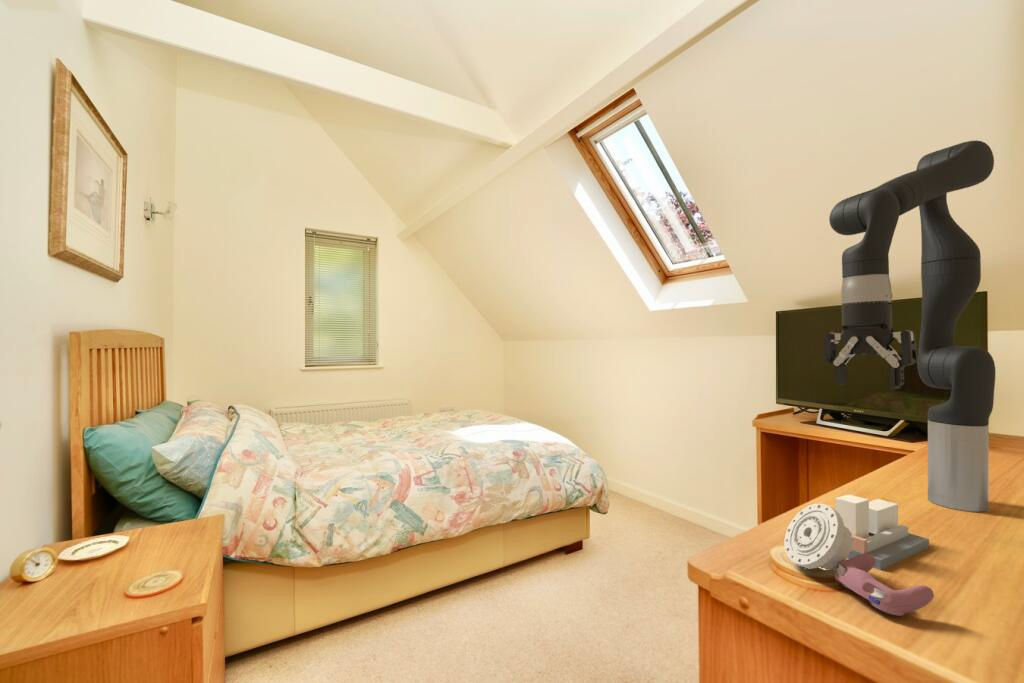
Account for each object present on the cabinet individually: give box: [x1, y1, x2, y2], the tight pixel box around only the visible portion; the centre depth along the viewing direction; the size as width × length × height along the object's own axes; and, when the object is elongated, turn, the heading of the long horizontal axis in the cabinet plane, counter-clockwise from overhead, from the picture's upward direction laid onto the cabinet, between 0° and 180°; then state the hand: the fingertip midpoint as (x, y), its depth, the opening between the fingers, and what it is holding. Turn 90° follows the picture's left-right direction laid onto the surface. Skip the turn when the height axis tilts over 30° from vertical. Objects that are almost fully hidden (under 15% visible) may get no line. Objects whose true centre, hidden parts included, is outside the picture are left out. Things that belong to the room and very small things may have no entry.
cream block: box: [869, 498, 899, 536], centre depth 80 cm, size 5×3×7 cm
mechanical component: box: [783, 503, 854, 571], centre depth 70 cm, size 10×4×10 cm
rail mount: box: [834, 494, 930, 571], centre depth 78 cm, size 16×11×8 cm
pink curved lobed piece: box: [834, 554, 935, 617], centre depth 62 cm, size 10×5×7 cm
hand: (868, 386), depth 88 cm, fingers open, 8 cm apart
